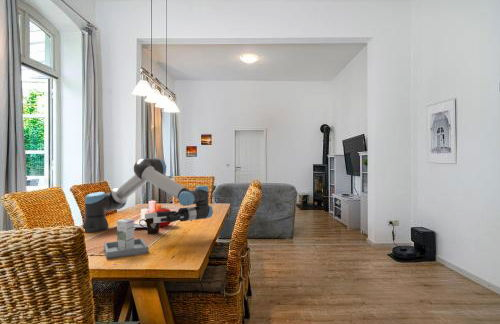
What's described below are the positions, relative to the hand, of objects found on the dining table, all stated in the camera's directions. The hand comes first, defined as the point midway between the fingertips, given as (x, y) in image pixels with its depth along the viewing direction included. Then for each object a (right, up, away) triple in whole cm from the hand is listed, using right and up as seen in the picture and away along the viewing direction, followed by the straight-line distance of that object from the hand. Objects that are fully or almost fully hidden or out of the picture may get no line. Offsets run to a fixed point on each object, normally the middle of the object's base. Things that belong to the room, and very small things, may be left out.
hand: (149, 218), depth 158 cm
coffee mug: (-8, -14, +26) cm, 31 cm away
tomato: (-5, -14, +45) cm, 47 cm away
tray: (-8, -14, -10) cm, 19 cm away
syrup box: (-8, -14, -10) cm, 19 cm away
